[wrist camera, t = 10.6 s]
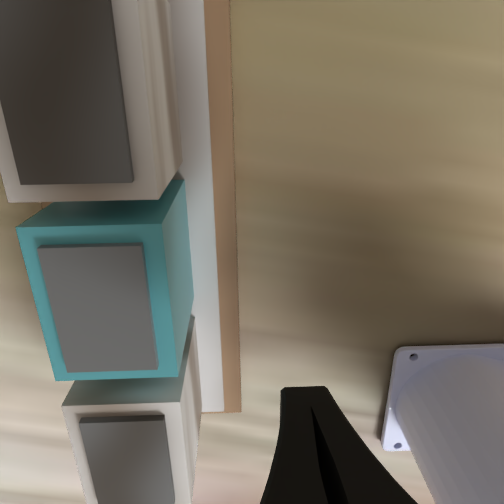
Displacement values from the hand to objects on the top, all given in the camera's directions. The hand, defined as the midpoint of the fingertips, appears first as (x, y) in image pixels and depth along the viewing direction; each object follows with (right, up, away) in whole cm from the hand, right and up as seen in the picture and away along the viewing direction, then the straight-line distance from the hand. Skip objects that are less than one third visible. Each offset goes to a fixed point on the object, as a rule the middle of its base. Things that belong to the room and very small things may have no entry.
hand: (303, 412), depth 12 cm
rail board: (-7, +6, +8) cm, 12 cm away
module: (-7, +5, +7) cm, 11 cm away
